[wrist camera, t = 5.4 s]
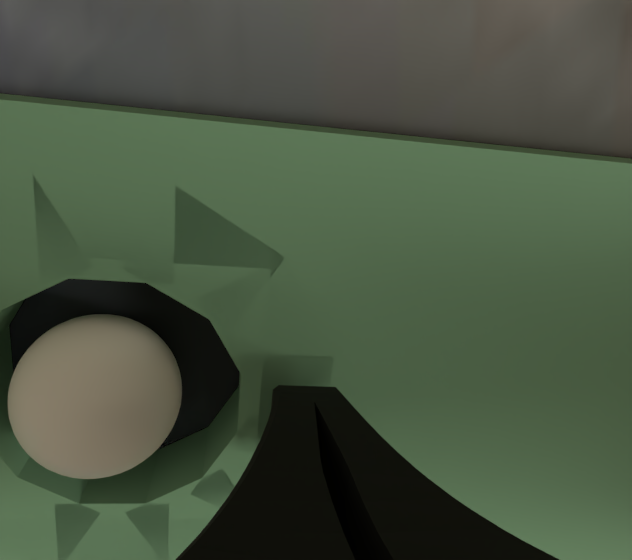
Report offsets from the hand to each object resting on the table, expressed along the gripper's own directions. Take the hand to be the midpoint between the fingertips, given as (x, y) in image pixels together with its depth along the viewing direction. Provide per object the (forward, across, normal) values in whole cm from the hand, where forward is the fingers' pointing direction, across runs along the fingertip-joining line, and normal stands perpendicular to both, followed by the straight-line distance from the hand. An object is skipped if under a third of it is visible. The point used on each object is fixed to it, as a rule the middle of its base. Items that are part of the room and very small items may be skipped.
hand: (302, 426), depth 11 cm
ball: (+1, +4, 0) cm, 5 cm away
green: (+3, -1, 0) cm, 3 cm away
